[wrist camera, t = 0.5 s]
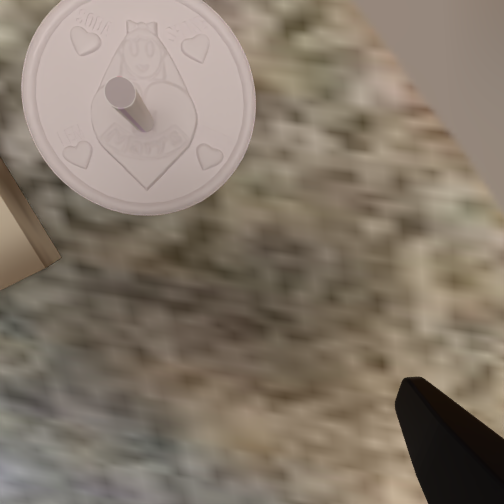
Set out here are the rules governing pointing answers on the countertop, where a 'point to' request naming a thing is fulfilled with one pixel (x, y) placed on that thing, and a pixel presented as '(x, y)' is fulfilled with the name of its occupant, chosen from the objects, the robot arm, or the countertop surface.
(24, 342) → the countertop surface
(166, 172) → the smoothie
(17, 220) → the plinth
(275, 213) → the countertop surface
